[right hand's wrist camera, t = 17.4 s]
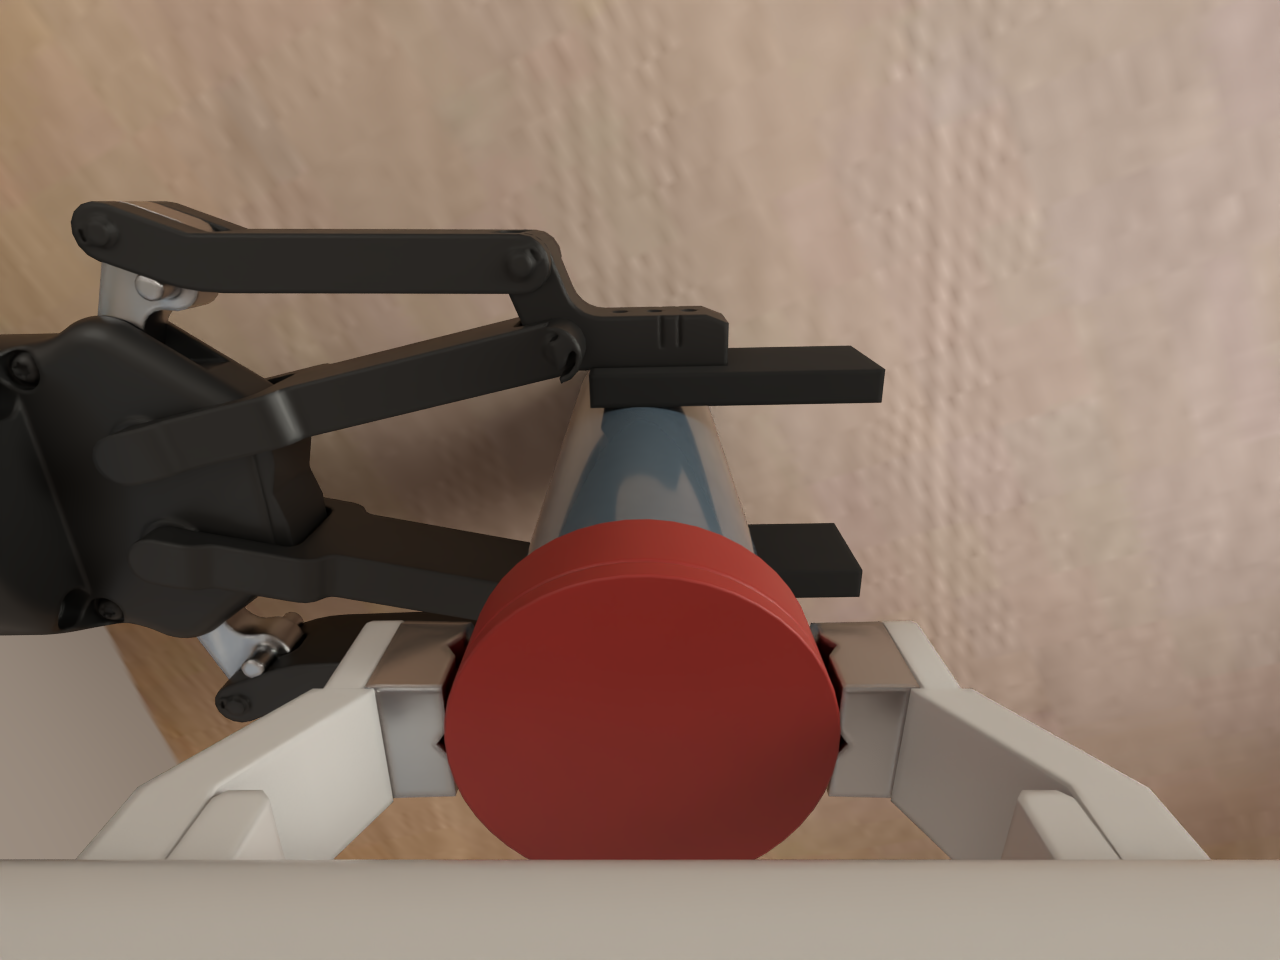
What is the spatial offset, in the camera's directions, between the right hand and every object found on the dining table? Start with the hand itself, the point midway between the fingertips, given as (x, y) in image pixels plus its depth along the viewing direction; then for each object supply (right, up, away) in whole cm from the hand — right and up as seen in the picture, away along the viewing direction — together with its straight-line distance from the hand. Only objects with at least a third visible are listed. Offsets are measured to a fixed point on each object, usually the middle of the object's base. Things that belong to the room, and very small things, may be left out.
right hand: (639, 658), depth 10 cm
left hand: (+5, +3, +7) cm, 9 cm away
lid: (0, -1, -1) cm, 2 cm away
